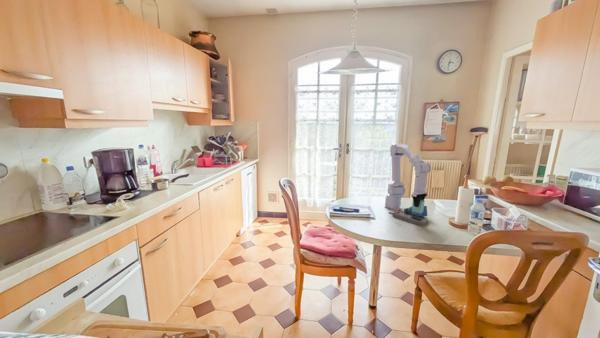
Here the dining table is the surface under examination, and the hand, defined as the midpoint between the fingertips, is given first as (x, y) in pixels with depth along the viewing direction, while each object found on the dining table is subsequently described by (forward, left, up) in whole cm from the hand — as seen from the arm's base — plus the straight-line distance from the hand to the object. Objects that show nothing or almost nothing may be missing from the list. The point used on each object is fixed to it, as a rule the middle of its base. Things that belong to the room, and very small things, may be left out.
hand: (418, 205), depth 142 cm
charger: (0, 0, -3) cm, 3 cm away
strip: (-6, 0, -10) cm, 12 cm away
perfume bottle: (0, +11, -6) cm, 13 cm away
